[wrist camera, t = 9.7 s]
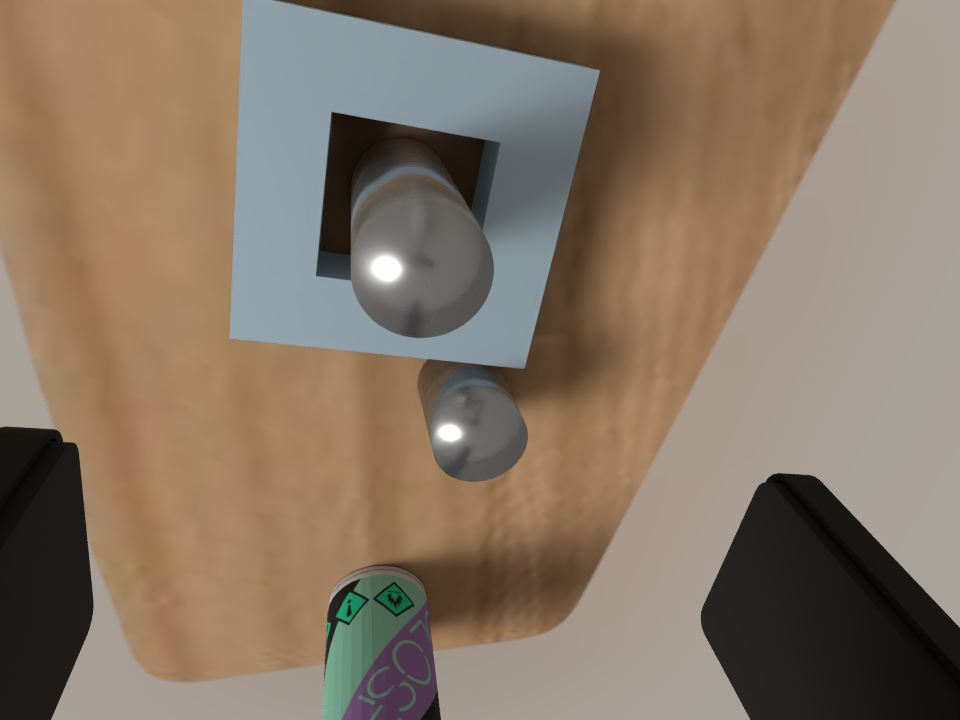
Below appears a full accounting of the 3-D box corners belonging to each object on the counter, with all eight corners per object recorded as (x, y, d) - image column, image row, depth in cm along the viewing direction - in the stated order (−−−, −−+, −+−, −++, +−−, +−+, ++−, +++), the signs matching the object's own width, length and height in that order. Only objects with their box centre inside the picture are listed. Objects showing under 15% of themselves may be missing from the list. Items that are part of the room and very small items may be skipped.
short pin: (445, 330, 31) (465, 387, 26) (516, 364, 32) (546, 423, 28) (402, 398, 32) (414, 463, 28) (472, 427, 34) (494, 493, 29)
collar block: (256, -5, 24) (243, -6, 21) (576, 63, 26) (600, 70, 24) (241, 308, 29) (229, 338, 26) (510, 338, 32) (524, 368, 29)
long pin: (357, 129, 26) (359, 191, 18) (457, 147, 27) (507, 214, 19) (345, 229, 28) (343, 330, 19) (440, 242, 29) (478, 344, 20)
